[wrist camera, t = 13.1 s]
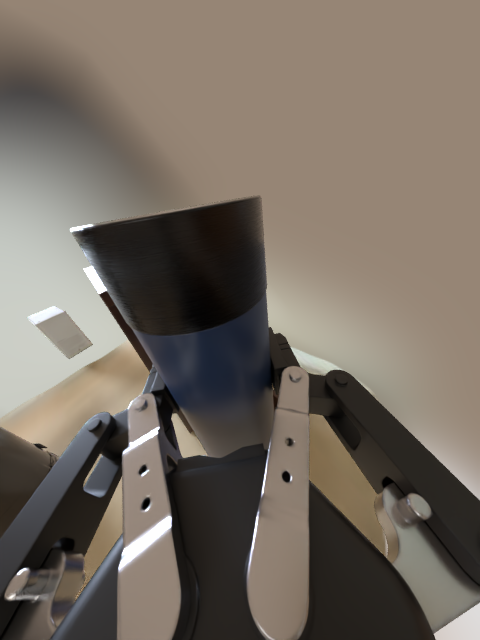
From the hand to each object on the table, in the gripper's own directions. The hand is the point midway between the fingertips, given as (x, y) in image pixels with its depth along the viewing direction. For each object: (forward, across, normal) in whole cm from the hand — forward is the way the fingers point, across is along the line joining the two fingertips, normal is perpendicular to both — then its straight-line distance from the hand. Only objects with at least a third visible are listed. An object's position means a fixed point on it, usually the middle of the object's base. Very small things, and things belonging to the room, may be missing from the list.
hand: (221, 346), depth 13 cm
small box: (+30, +41, +18) cm, 54 cm away
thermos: (-2, 0, +10) cm, 10 cm away
